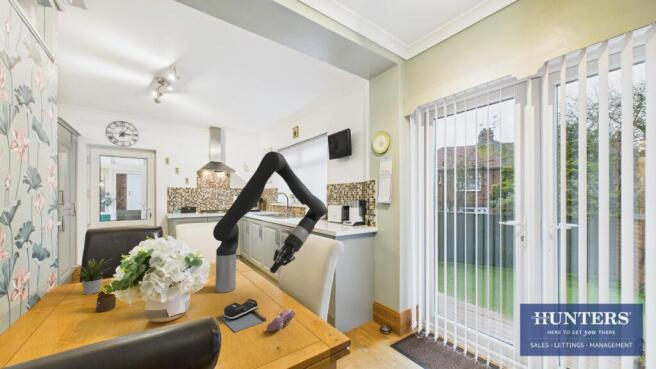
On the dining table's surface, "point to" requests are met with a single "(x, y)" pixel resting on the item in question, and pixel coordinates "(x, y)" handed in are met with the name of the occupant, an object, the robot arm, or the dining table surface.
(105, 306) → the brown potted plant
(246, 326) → the mat
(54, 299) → the dining table surface
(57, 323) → the dining table surface
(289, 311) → the purple lumpy piece
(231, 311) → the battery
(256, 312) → the strip
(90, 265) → the house plant
